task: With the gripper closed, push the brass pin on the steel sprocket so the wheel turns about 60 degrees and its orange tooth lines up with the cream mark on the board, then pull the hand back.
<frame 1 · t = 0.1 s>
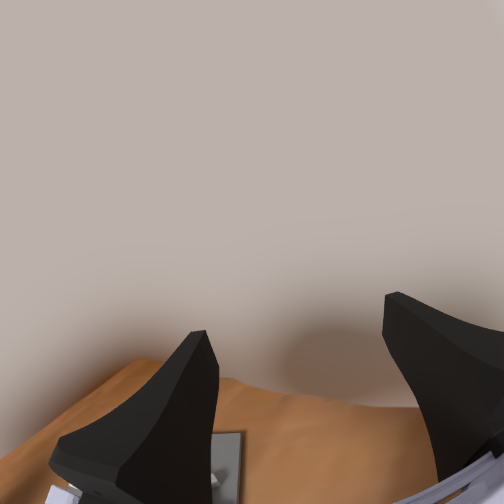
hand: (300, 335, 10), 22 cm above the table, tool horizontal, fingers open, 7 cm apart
timing board: (143, 501, 17), on the table
sprocket: (133, 498, 15), point 4 cm above the table, hinge at 0.0°
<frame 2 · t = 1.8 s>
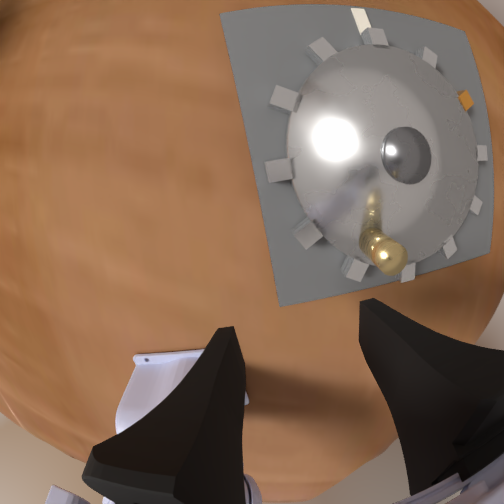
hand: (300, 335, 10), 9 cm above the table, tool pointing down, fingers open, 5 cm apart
timing board: (396, 139, 16), on the table
sprocket: (413, 155, 13), point 4 cm above the table, hinge at 0.0°
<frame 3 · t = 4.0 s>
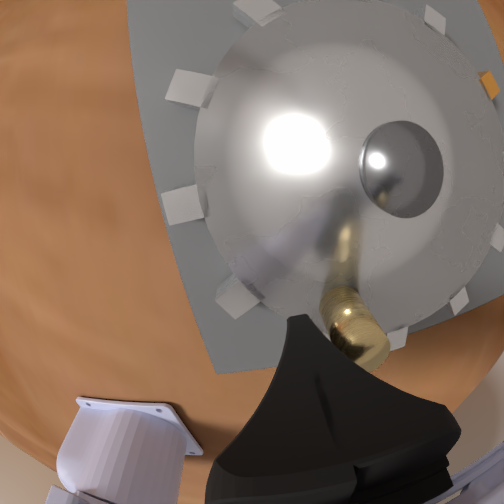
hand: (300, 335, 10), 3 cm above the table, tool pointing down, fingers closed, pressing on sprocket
timing board: (388, 141, 11), on the table
sprocket: (414, 170, 8), point 3 cm above the table, hinge at 0.3°, touching gripper
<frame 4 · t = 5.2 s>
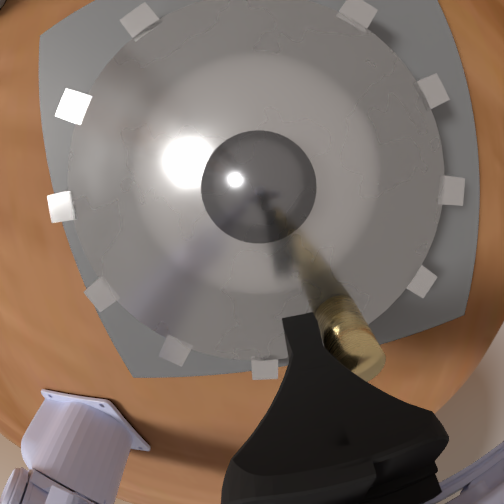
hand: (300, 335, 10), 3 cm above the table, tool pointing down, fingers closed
timing board: (276, 151, 11), on the table
sprocket: (259, 189, 8), point 3 cm above the table, hinge at 51.6°, touching gripper
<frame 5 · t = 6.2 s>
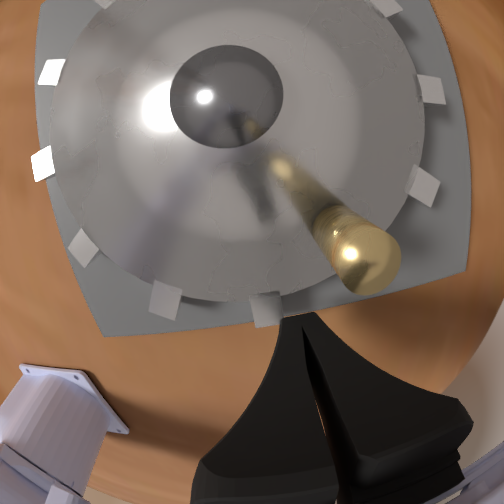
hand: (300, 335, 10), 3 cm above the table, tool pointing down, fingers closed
timing board: (250, 83, 10), on the table
sprocket: (223, 90, 7), point 3 cm above the table, hinge at 59.5°
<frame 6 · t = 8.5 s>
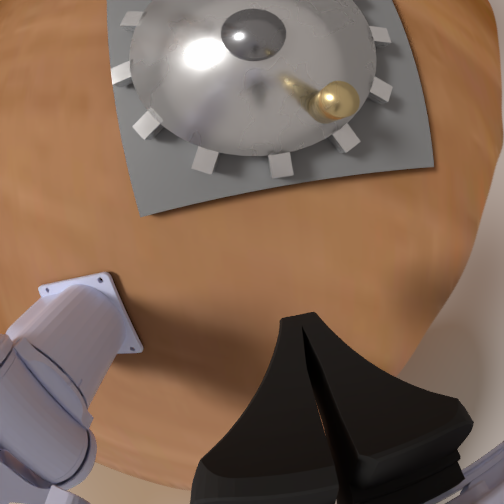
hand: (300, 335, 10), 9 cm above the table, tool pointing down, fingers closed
timing board: (264, 36, 14), on the table
sprocket: (253, 28, 11), point 3 cm above the table, hinge at 59.5°
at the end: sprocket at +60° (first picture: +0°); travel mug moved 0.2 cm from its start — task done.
